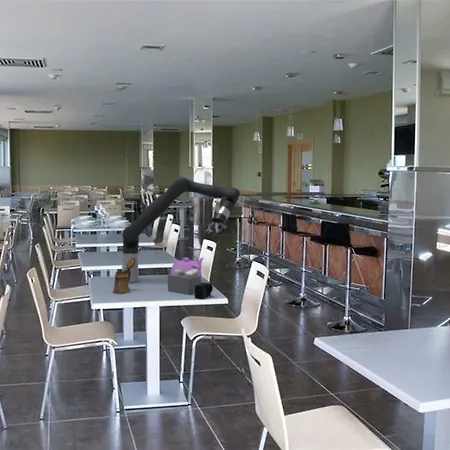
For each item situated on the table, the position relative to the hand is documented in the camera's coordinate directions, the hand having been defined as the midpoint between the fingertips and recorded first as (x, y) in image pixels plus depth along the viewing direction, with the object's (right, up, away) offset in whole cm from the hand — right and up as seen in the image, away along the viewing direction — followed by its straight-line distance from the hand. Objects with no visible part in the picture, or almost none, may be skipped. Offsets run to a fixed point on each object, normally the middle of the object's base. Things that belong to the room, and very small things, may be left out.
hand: (208, 238), depth 334 cm
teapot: (-14, -27, +16) cm, 34 cm away
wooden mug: (-46, -29, -11) cm, 56 cm away
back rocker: (-15, -19, -6) cm, 26 cm away
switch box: (-14, -29, -9) cm, 33 cm away
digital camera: (-2, -31, -22) cm, 38 cm away
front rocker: (-9, -20, -10) cm, 24 cm away
